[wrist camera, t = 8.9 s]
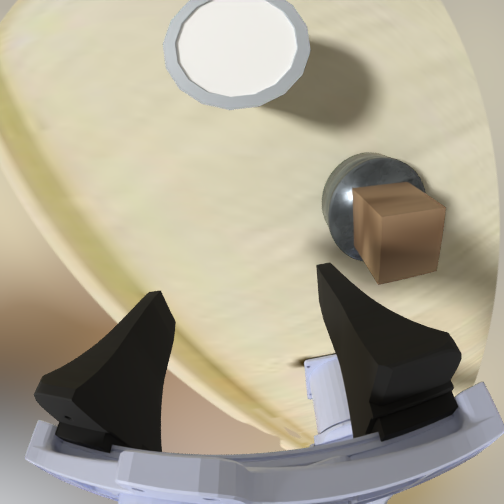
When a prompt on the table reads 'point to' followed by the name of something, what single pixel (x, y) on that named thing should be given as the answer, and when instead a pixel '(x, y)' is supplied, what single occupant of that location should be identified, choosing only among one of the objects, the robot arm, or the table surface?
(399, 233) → the walnut block
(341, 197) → the tin
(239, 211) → the table surface
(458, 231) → the table surface
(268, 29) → the grey and white cylinder
